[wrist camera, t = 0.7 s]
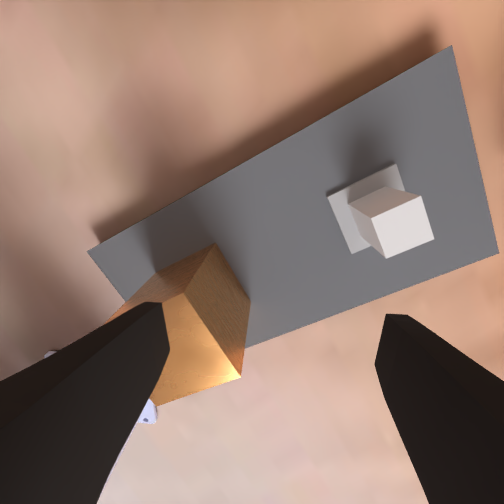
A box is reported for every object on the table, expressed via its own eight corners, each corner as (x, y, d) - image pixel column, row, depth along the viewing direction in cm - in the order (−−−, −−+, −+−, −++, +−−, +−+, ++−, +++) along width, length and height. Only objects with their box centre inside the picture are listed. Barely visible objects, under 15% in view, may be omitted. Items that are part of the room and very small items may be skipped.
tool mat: (186, 359, 22) (161, 419, 17) (100, 244, 19) (36, 277, 14) (480, 245, 17) (571, 283, 12) (433, 56, 14) (531, -5, 8)
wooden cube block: (193, 326, 19) (156, 406, 13) (155, 272, 18) (93, 334, 12) (251, 301, 18) (240, 377, 12) (215, 242, 17) (182, 293, 10)
